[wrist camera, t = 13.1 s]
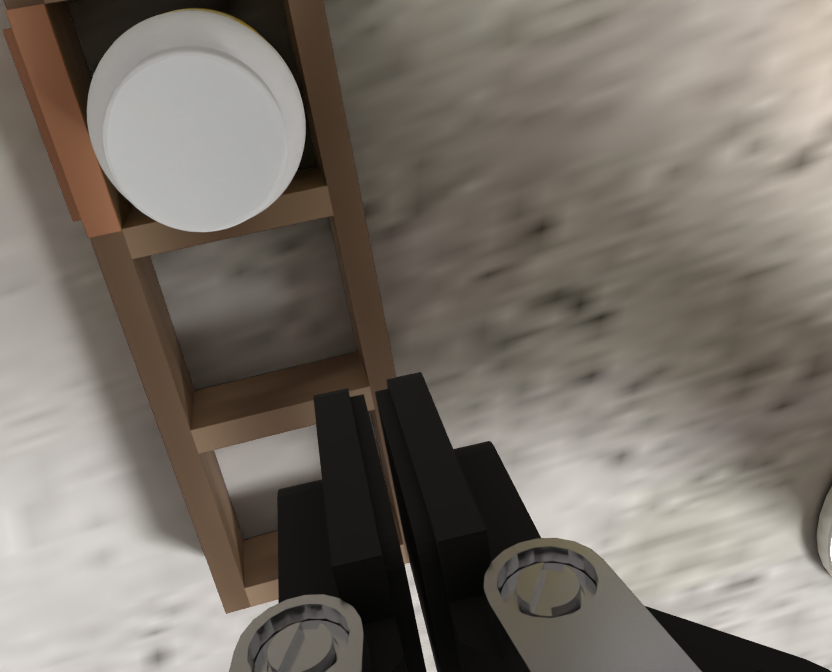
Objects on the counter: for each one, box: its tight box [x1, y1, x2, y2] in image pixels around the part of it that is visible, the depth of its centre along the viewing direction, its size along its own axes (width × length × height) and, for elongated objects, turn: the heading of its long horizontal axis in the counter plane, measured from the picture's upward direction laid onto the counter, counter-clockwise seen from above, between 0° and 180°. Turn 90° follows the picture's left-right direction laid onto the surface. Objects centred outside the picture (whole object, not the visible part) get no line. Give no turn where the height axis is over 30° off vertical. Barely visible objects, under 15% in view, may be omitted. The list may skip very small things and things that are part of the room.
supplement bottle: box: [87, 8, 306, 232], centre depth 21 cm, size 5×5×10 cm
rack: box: [3, 0, 410, 614], centre depth 27 cm, size 9×24×3 cm, turn 9°
